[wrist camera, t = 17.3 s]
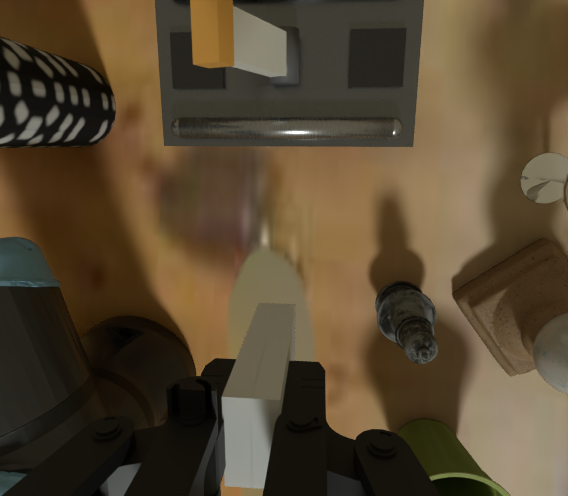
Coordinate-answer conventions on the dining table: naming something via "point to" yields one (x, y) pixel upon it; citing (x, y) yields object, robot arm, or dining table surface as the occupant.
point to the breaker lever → (243, 42)
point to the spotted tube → (51, 100)
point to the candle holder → (523, 312)
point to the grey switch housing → (312, 78)
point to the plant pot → (447, 460)
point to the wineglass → (546, 178)
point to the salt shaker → (408, 320)
